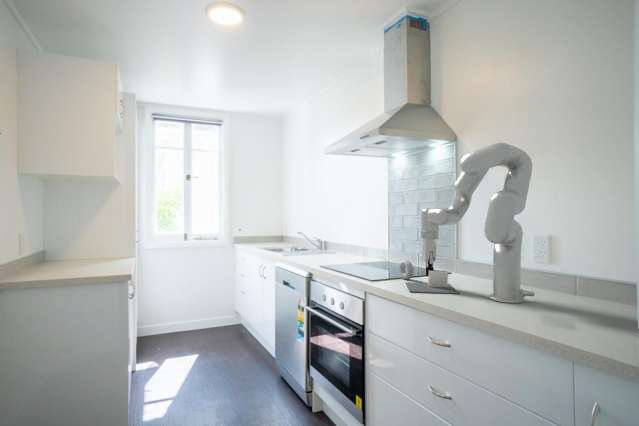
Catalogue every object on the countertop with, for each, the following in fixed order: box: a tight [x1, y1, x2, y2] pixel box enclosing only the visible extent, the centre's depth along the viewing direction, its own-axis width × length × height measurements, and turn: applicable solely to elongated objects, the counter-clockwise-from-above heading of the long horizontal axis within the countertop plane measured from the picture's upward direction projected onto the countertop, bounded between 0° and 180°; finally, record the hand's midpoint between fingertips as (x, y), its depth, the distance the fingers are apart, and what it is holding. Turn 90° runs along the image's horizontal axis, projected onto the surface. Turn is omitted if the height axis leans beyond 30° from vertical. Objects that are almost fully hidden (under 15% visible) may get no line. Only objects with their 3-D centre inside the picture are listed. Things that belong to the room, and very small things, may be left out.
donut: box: [397, 259, 415, 280], centre depth 185 cm, size 10×3×10 cm, turn 27°
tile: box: [427, 269, 449, 287], centre depth 164 cm, size 8×2×7 cm, turn 82°
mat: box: [405, 281, 460, 295], centre depth 163 cm, size 20×20×1 cm
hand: (429, 275), depth 167 cm, fingers closed
